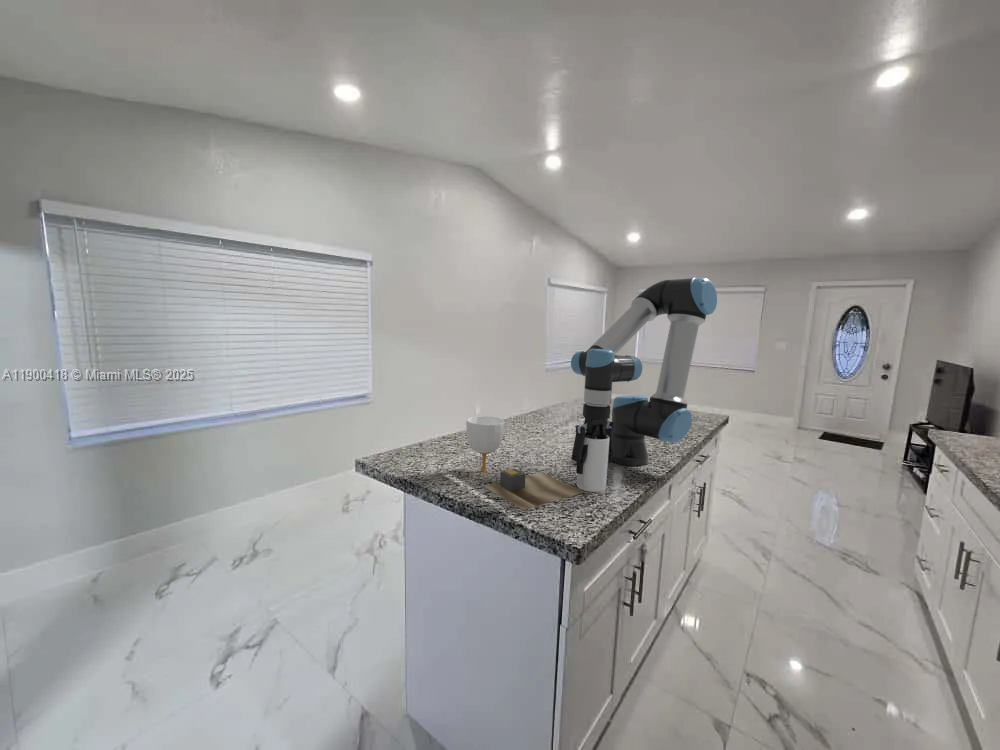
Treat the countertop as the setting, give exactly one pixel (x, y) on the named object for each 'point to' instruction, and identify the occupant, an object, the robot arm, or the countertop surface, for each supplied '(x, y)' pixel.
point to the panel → (535, 491)
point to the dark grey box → (512, 479)
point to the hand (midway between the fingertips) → (591, 481)
